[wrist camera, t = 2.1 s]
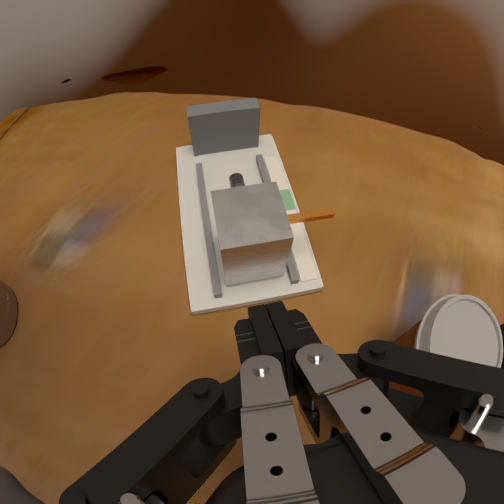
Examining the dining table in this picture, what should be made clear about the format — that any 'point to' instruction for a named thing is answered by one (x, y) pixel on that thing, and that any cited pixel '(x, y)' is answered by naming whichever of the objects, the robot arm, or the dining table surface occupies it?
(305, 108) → the dining table surface
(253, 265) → the gauge carriage
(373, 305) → the dining table surface
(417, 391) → the disposable coffee cup
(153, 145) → the dining table surface
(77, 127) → the dining table surface
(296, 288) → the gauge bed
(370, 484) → the robot arm
